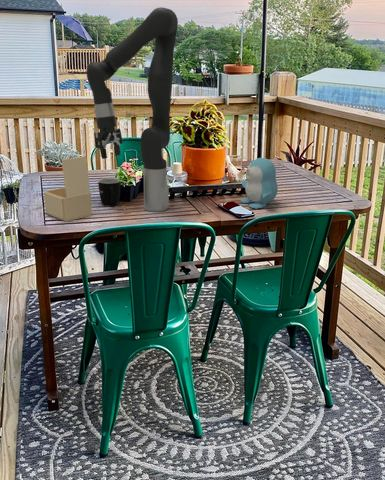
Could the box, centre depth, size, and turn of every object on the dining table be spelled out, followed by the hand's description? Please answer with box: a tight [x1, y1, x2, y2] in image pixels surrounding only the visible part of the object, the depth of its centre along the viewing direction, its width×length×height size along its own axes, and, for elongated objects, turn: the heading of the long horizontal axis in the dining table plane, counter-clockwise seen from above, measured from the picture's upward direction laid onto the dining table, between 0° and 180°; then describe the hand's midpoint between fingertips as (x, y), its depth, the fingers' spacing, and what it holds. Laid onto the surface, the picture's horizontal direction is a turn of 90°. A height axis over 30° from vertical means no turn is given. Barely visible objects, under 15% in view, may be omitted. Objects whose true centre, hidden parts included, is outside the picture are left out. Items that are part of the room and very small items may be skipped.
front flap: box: [61, 155, 91, 198], centre depth 184 cm, size 14×10×1 cm
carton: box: [43, 186, 93, 222], centre depth 192 cm, size 14×13×9 cm
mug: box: [97, 177, 121, 207], centre depth 205 cm, size 12×9×10 cm
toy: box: [240, 157, 278, 210], centre depth 209 cm, size 24×14×20 cm, turn 21°
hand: (111, 157), depth 198 cm, fingers open, 8 cm apart
